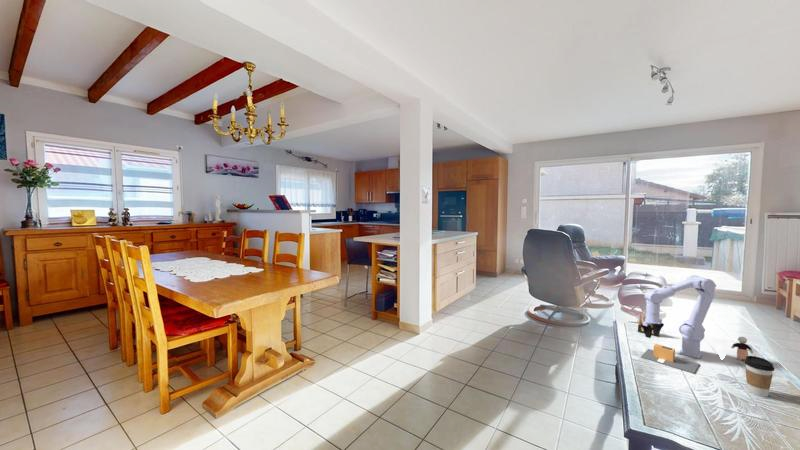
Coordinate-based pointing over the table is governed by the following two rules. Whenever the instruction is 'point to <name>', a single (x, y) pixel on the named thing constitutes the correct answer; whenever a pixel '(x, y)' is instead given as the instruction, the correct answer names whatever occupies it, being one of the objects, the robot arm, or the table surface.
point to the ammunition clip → (641, 326)
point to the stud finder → (664, 352)
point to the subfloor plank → (677, 363)
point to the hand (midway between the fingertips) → (652, 336)
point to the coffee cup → (758, 375)
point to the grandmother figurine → (742, 348)
